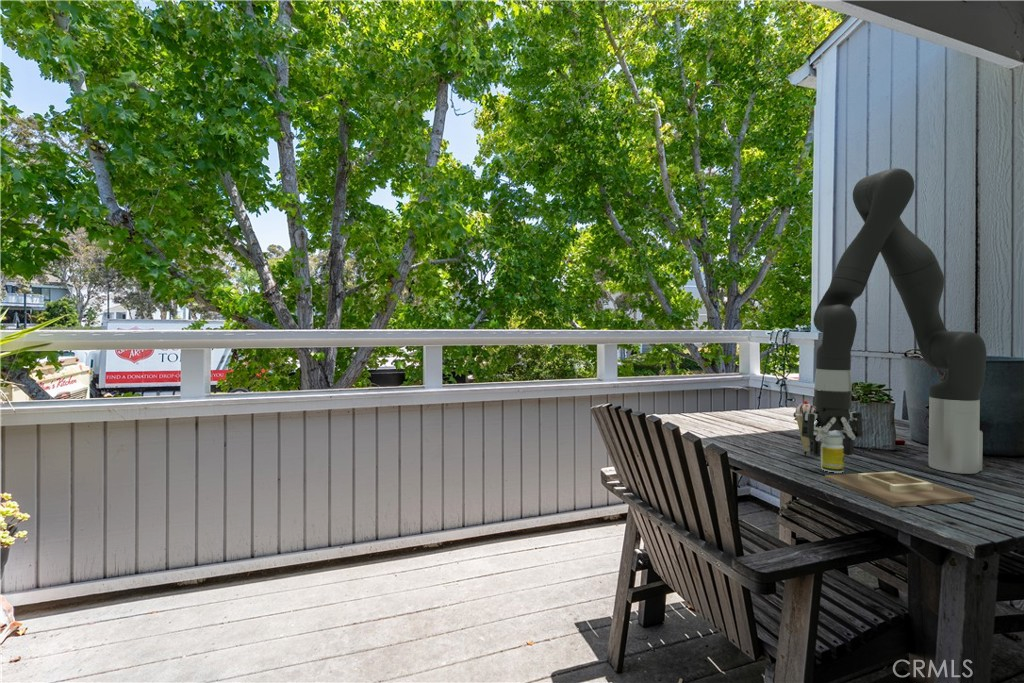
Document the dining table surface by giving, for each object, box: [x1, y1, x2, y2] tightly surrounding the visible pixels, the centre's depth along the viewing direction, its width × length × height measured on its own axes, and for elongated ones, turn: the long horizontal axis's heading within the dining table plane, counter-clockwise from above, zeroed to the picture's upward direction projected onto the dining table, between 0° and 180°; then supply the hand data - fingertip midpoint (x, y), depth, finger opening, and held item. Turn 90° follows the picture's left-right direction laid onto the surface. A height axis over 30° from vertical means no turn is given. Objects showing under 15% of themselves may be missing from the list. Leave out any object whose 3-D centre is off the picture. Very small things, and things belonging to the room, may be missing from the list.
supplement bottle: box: [820, 434, 845, 474], centre depth 123 cm, size 5×5×8 cm
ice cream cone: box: [793, 400, 816, 457], centre depth 136 cm, size 6×6×15 cm
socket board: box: [824, 470, 976, 508], centre depth 109 cm, size 18×18×2 cm
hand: (831, 455), depth 123 cm, fingers open, 8 cm apart
